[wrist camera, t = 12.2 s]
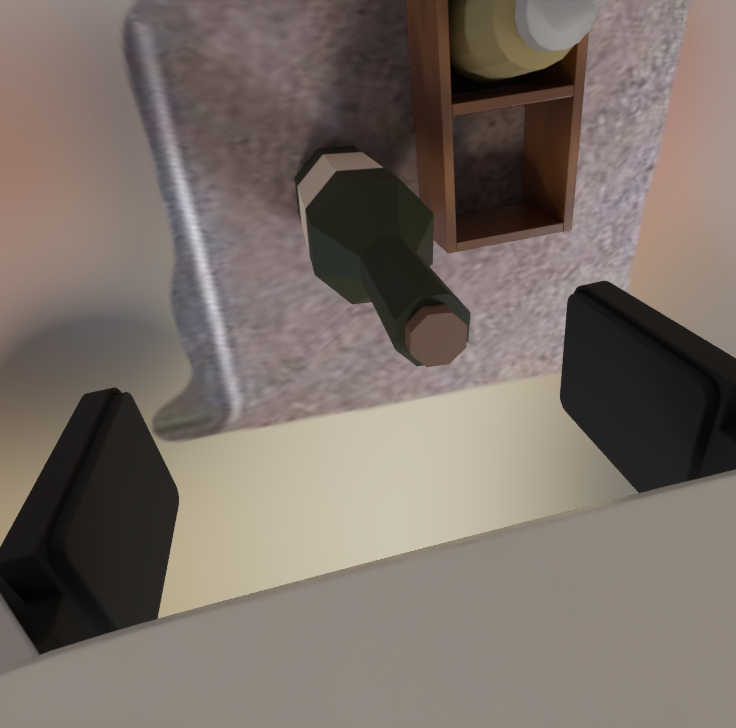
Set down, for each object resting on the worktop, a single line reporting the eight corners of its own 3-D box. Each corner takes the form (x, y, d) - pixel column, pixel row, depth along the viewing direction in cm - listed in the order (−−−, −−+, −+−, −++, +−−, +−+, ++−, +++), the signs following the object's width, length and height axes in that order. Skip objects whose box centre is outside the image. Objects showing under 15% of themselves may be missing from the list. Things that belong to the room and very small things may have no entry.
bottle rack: (401, -52, 37) (432, -81, 30) (540, -70, 38) (600, -102, 31) (421, 228, 48) (447, 253, 41) (529, 209, 49) (571, 230, 42)
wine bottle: (308, 128, 42) (379, 203, 16) (396, 162, 45) (575, 272, 19) (282, 222, 46) (307, 405, 20) (365, 249, 48) (482, 439, 23)
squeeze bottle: (463, -62, 38) (602, -160, 22) (538, 7, 41) (705, -37, 25) (407, 45, 40) (496, 25, 25) (481, 102, 44) (600, 115, 28)
